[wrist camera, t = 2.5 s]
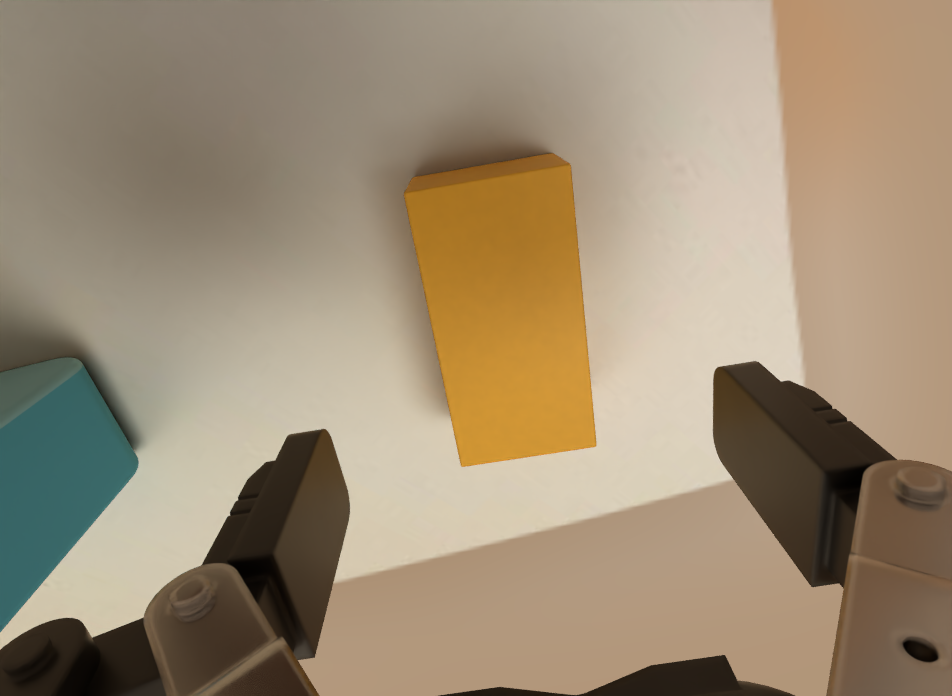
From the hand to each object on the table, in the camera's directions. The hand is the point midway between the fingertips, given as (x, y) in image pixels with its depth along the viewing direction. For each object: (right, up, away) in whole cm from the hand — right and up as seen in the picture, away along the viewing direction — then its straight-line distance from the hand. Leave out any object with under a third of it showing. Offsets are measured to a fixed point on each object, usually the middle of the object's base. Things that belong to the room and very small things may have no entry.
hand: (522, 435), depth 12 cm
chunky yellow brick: (0, +4, +8) cm, 9 cm away
